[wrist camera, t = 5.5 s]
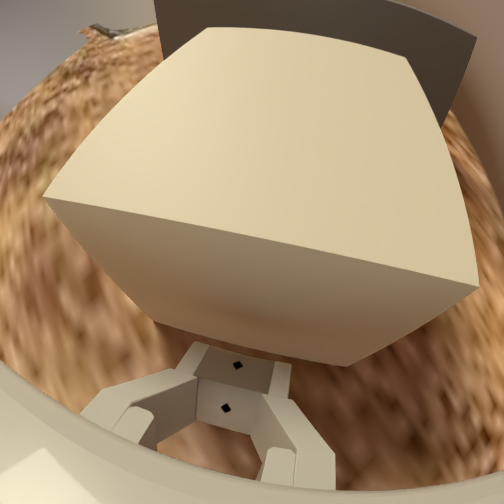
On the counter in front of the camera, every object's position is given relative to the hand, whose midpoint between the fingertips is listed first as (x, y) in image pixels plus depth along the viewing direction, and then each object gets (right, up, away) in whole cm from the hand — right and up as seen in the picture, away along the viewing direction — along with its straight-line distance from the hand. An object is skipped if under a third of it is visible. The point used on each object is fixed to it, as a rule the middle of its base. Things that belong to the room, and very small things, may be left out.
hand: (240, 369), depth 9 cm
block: (+2, +4, +8) cm, 9 cm away
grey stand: (+6, +19, +16) cm, 26 cm away
